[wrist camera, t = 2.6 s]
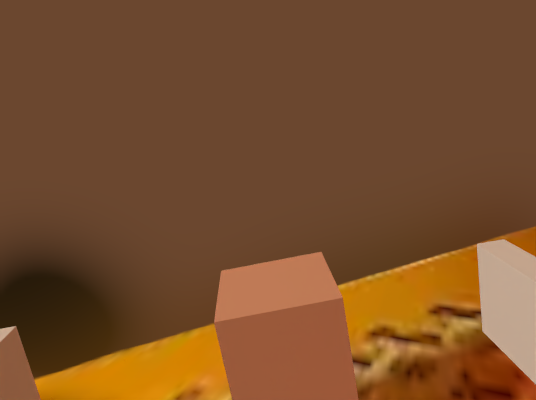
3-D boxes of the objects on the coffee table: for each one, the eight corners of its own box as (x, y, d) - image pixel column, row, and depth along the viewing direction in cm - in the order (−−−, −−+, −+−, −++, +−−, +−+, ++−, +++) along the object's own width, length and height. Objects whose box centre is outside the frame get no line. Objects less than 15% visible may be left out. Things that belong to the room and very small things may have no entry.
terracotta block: (374, 503, 23) (342, 297, 20) (262, 525, 23) (214, 322, 20) (349, 421, 29) (321, 251, 26) (259, 438, 29) (221, 270, 26)
